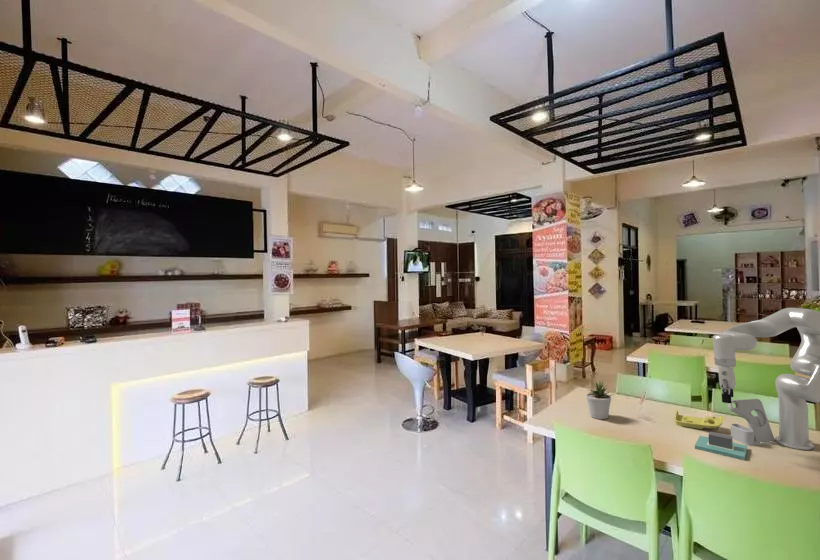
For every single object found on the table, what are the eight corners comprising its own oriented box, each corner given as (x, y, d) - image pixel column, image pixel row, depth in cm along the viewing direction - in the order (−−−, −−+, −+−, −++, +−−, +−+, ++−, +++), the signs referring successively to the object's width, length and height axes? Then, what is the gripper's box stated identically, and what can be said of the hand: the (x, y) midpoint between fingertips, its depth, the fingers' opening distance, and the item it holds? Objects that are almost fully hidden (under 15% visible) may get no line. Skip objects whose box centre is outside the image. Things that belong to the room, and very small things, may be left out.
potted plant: (618, 420, 210) (617, 383, 210) (592, 421, 210) (591, 384, 210) (607, 412, 222) (606, 377, 222) (582, 413, 223) (581, 378, 222)
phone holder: (747, 446, 176) (746, 406, 176) (727, 437, 186) (726, 399, 186) (782, 443, 177) (781, 404, 177) (760, 434, 187) (759, 397, 187)
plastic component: (673, 421, 201) (676, 408, 208) (676, 432, 203) (678, 418, 210) (722, 427, 187) (723, 413, 194) (724, 439, 190) (725, 424, 196)
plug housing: (710, 441, 178) (709, 431, 178) (732, 446, 173) (732, 436, 173) (708, 444, 175) (708, 434, 175) (731, 449, 169) (731, 439, 169)
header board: (699, 438, 185) (699, 430, 185) (747, 448, 173) (746, 440, 173) (694, 448, 175) (694, 439, 175) (744, 460, 163) (744, 450, 163)
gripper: (734, 367, 165) (737, 407, 166) (737, 358, 178) (740, 395, 178) (712, 365, 171) (715, 404, 171) (716, 357, 183) (719, 393, 183)
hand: (727, 399), depth 174 cm, fingers open, 9 cm apart
